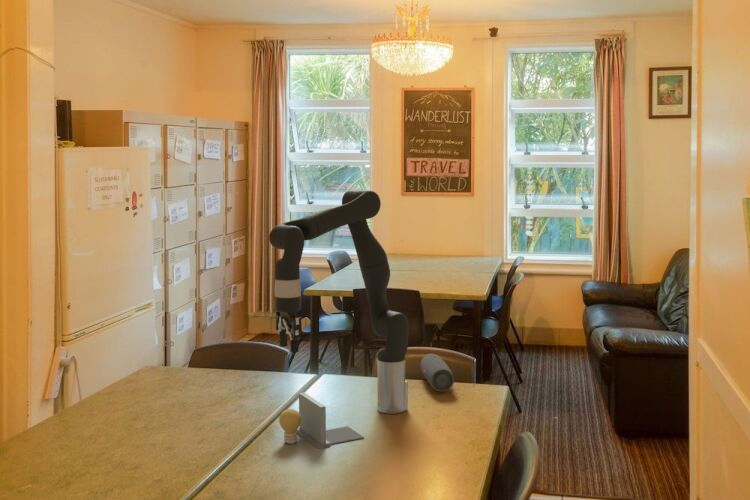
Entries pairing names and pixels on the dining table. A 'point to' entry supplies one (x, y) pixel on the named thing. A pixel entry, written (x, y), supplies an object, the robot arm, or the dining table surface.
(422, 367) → the bluetooth speaker
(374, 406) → the dining table surface
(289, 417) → the yellow light bulb
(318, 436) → the screen
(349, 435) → the mat
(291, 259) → the robot arm
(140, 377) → the dining table surface
